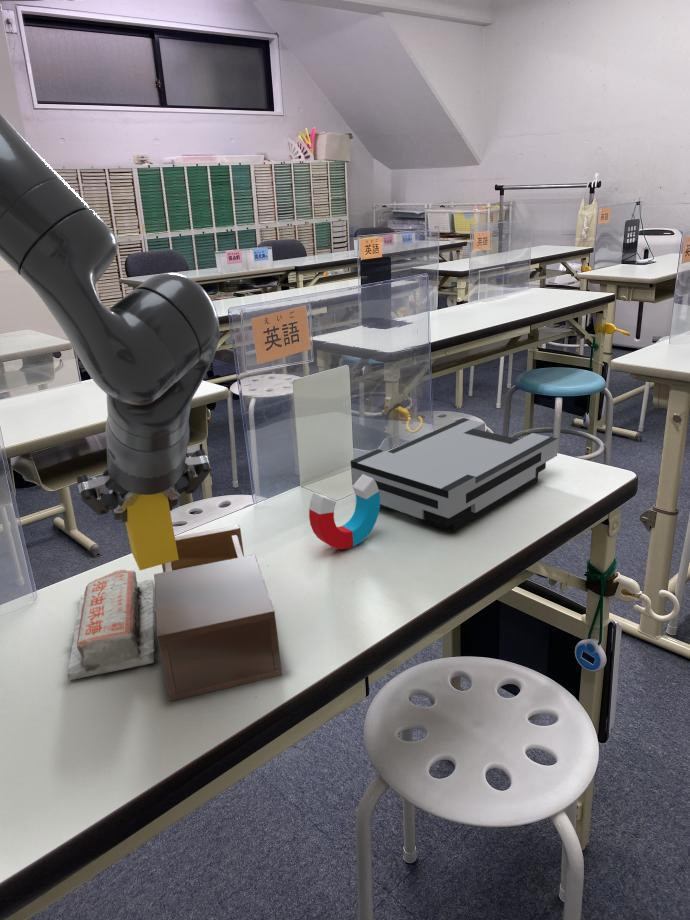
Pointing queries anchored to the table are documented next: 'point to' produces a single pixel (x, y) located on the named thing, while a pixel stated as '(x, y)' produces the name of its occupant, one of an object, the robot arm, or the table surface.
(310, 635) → the table surface
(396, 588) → the table surface
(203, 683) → the cabinet
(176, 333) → the robot arm
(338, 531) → the magnet
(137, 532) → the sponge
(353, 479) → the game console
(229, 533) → the drawer
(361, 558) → the table surface
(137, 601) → the packaged product
